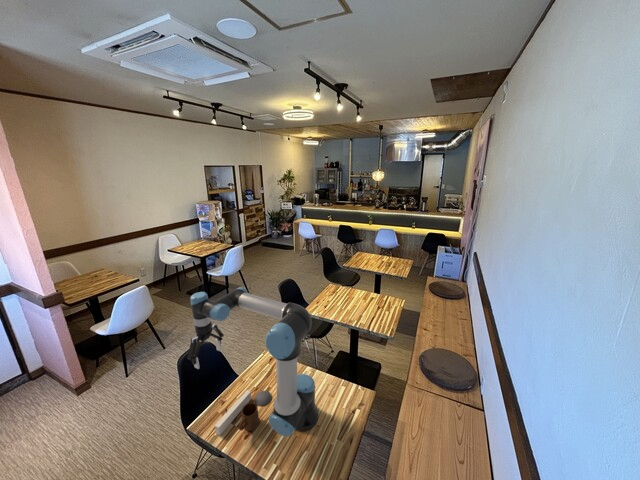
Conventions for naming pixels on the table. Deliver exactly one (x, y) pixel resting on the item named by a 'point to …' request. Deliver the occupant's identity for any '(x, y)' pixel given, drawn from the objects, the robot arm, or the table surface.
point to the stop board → (232, 413)
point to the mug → (249, 417)
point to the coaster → (262, 398)
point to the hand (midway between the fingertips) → (208, 358)
